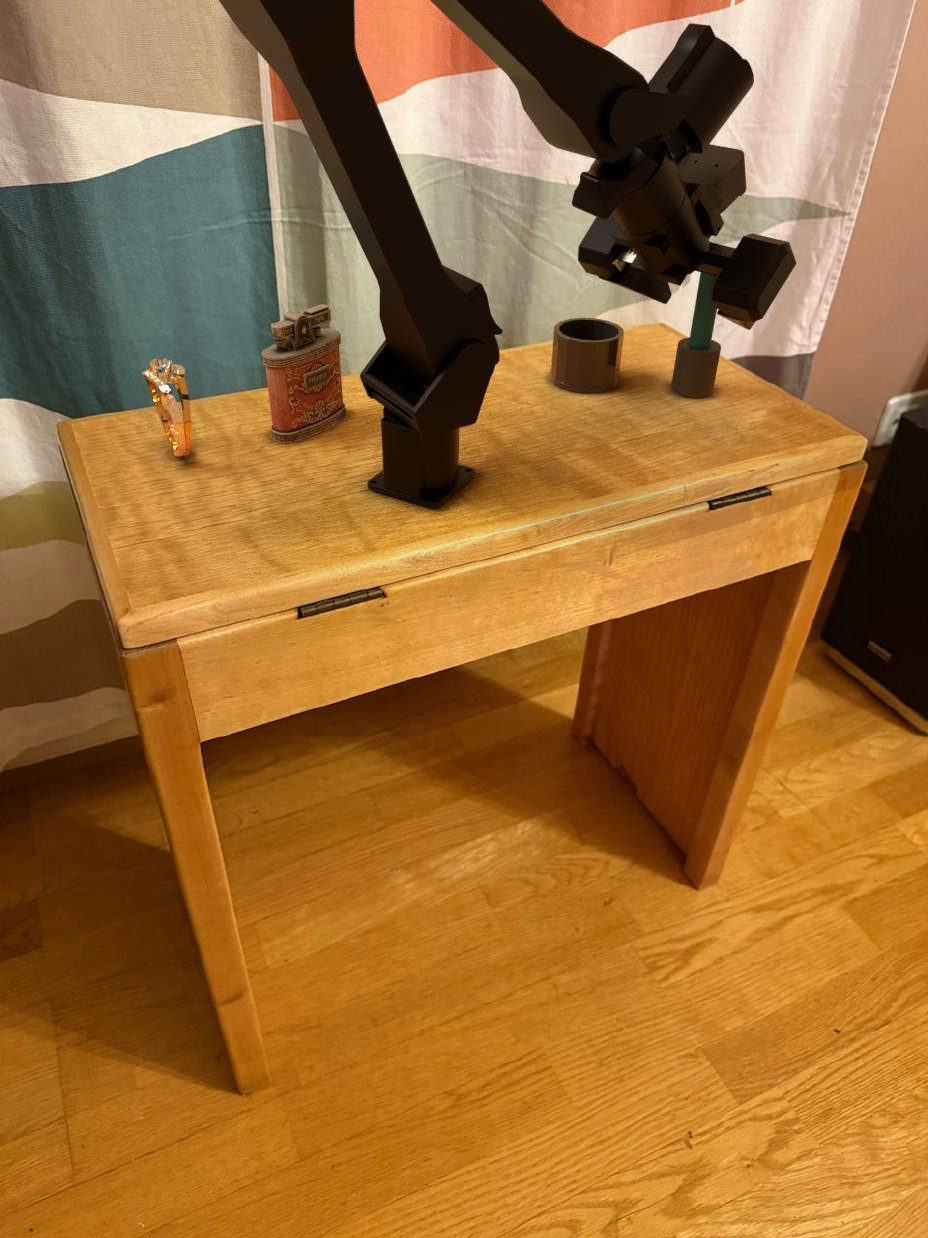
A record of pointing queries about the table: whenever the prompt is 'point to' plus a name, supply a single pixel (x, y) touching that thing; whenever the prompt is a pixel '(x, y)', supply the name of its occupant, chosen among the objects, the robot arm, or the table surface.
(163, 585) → the table surface
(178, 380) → the ring
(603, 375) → the tumbler
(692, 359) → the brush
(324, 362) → the lighter
